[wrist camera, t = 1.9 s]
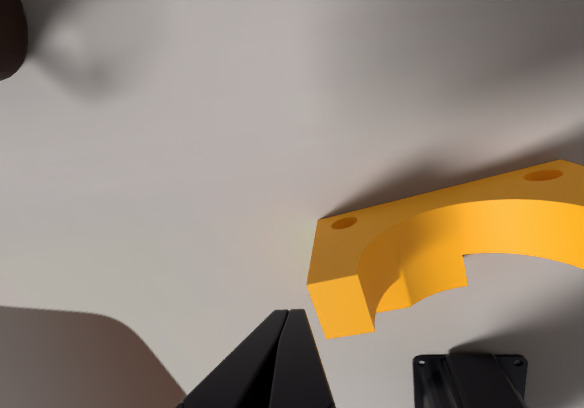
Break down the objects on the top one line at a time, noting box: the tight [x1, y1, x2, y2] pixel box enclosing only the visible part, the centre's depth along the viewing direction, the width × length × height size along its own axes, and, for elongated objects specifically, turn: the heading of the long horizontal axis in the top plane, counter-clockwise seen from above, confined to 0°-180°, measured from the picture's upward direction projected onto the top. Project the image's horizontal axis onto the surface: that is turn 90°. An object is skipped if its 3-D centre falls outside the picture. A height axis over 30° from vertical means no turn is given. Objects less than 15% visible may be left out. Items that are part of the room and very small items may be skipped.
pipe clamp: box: [307, 159, 584, 339], centre depth 14 cm, size 12×4×6 cm, turn 109°
